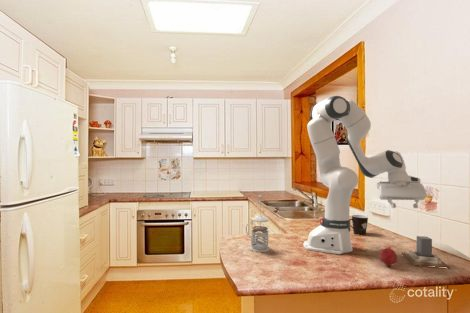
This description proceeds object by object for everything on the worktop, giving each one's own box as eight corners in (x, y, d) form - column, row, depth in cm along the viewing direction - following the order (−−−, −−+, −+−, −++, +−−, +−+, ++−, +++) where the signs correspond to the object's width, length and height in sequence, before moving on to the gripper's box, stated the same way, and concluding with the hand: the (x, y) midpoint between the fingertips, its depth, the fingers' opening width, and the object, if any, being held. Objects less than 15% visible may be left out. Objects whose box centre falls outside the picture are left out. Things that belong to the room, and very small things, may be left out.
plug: (421, 260, 117) (421, 238, 117) (416, 257, 121) (416, 236, 121) (431, 261, 117) (431, 239, 117) (426, 257, 121) (426, 236, 121)
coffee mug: (364, 232, 166) (364, 215, 166) (370, 236, 158) (370, 218, 158) (344, 231, 167) (344, 214, 168) (348, 235, 159) (348, 217, 159)
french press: (269, 252, 127) (270, 197, 128) (244, 250, 130) (244, 196, 130) (271, 246, 137) (271, 194, 137) (247, 244, 139) (248, 193, 140)
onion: (388, 269, 110) (388, 248, 110) (377, 264, 115) (377, 244, 115) (400, 268, 111) (400, 247, 111) (388, 262, 117) (389, 243, 117)
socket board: (412, 265, 114) (412, 258, 114) (401, 254, 127) (401, 248, 127) (449, 269, 111) (449, 261, 111) (435, 257, 124) (435, 251, 124)
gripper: (377, 178, 141) (382, 204, 133) (423, 178, 136) (431, 205, 129) (374, 184, 146) (379, 209, 138) (419, 184, 141) (426, 210, 134)
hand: (404, 207), depth 134 cm, fingers open, 8 cm apart
